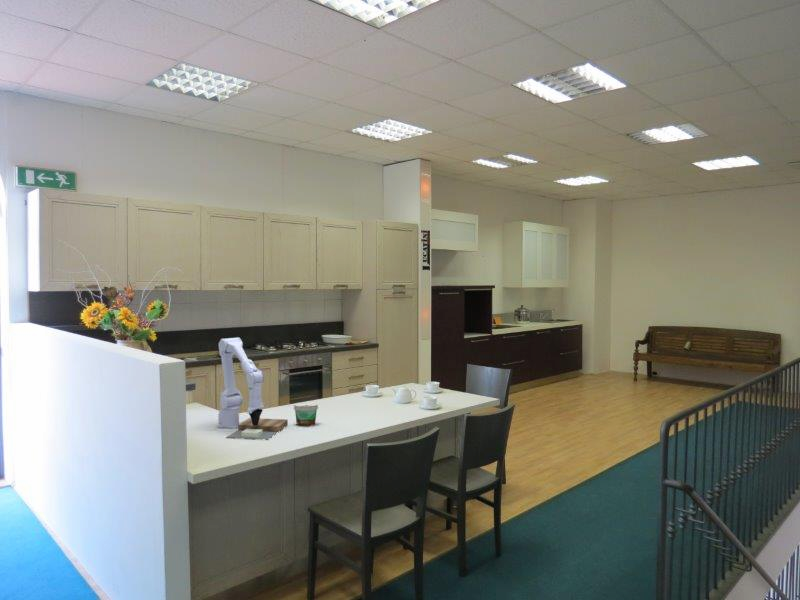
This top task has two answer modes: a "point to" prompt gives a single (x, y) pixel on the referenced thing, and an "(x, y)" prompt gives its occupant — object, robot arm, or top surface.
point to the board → (264, 425)
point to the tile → (251, 433)
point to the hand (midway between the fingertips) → (255, 425)
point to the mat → (264, 436)
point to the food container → (305, 415)
